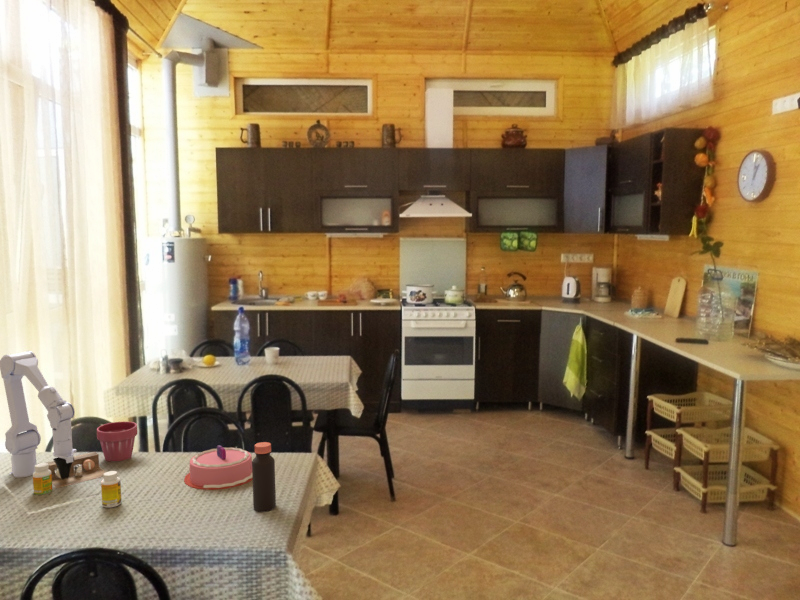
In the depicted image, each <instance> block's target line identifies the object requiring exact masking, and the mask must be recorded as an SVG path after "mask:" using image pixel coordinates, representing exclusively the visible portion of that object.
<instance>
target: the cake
mask: <svg viewBox="0 0 800 600" xmlns="http://www.w3.org/2000/svg"><path fill="white" fill-rule="evenodd" d="M252 457H253V456H252V454H251V453H250V451H247V450H246V449H245V450H244V449H242V448H241V447H240V448H239V447H238V448H237V447H234V446H233V447H231V446H230V447H223V446H222V445H217V446H216V448H211V449H207V450H204V451H202V452H200V453H196V455H194V456H193V457H191V459H190V460H189V472H188V473H187V474H186V475H185V476H184V480H183V482H184V484H185V485H186V486H187V487H190V488H191V489H197V490H205V491H210V490H211V491H212V490H215V491H216V490H217V491H218V490H226V489H231V488H236V487H240V486H242V485H245V484H247V483H250V482H251V481H252V482H253V479H252V461H253V458H252Z"/></svg>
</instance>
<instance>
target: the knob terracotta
mask: <svg viewBox="0 0 800 600" xmlns="http://www.w3.org/2000/svg"><path fill="white" fill-rule="evenodd" d="M94 466H95V463H94V462H93V461H92V460H90V459H87V460H85V461H83V463H82V467H83V468H84V469H85V470H87V471H89V470H92V469H93V468H94Z"/></svg>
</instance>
